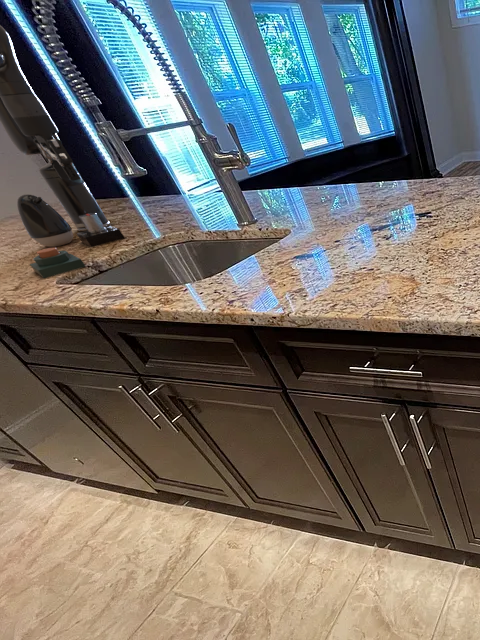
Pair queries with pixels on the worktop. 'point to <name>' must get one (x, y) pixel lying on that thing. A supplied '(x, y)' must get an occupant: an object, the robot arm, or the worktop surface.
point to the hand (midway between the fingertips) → (70, 179)
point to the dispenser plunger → (48, 252)
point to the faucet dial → (92, 223)
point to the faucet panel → (100, 236)
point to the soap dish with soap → (56, 264)
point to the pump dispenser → (43, 222)
